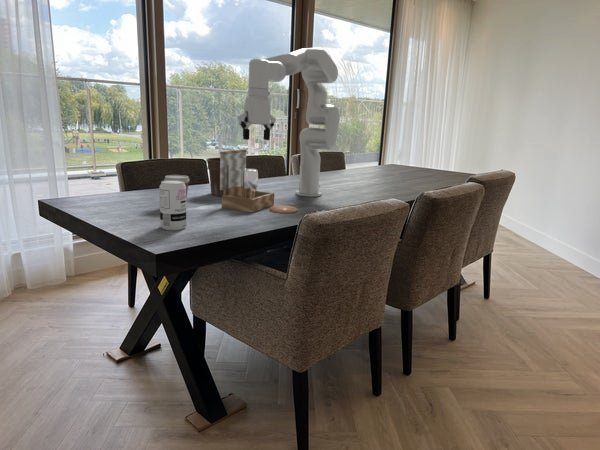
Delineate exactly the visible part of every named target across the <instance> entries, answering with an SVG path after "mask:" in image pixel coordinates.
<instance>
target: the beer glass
mask: <svg viewBox="0 0 600 450" xmlns="http://www.w3.org/2000/svg"><path fill="white" fill-rule="evenodd" d="M258 172H259V170H258V169H257V168H246V169H242V170H241V189H242V198H249V199H253V198H255V197H256V191H258V190H257V189H258V186H259V173H258Z"/></svg>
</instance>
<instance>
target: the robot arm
mask: <svg viewBox="0 0 600 450" xmlns="http://www.w3.org/2000/svg"><path fill="white" fill-rule="evenodd" d="M248 63H249V64H248V65H249V66H248V91H247V93H248V94H247V95H248V96H246V97H245V100H244V106H243V113H242V114H240V115H238V116H237V117H236V118H237V120H238V124H239V125H240V127H241V128H242V140H246V141H248V140H250V129H249V128H250V126H251V125H259V126H260V125H261V126H263V127H264V129H263V140H264V141H270V138H271V130H272V128H273V127H274V126H275V123H276V120H277V118H275V117H274V116H273V114H271V103H270V101H271V100H270V98H269V96H271V92H270V91H269V86H270V84H269V83H279V82H282V81H283V80H285V78H286V76H292V75H296V74H298V73H300V72H301V76H302V77H301V78H302V80H303V81H304V83H305V86H306V87H307V91H308V93H307V94H308V95H307V97H308V98H307V105H306V110H305V111H306V112H305V121H306V123H307V124H309V125H312V126H323V127H324V128H320V127H305V128H303V129H302V130H301V131H300V133H299V146H300V164H299V165H300V166H299V178H298V179H299V181H298V183H299V184H298V190H295V195H297V196H301V197H310V198H312V197H313V198H315V197H321V196H322V195H323V194H322V192H321V191H319V190H320V189H321V185H320V176H321V175H320V173H321V162H322V160H321V159H322V158H321V155H320V152H319V151H318V150H323V151H324V150H325V151H331V150H333V149H334V148H335V146H336V144H337V140H338V139H337V138H338V131H339V126H340V119H341V118H340V116H341V115H340V110H339V108H338V106H336V105H334V104H327V97H328V94H327V90H326V88H325V87H324V84H332V83H335V82H336V81H337V80H338V78H339V69H338V66H337V65H336V63H335V61H334V60H333V59H332V58H331V55H329V53H328V52H327V51H326V50H325V49H323V48H321V47H306V48H305V47H304V48H303V47H302V48H299V49H297V50H293V51H291V52H288V53H283V54H280V55H275V56H271V57H265V58H263V59H262V58H252V59H250V60H249V62H248Z"/></svg>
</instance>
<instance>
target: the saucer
mask: <svg viewBox="0 0 600 450" xmlns="http://www.w3.org/2000/svg"><path fill="white" fill-rule="evenodd" d="M269 210H270V212H272V213H277V214H294V213H297V212H298V207H296V206H291V205H280V204H279V205H272V206H269Z"/></svg>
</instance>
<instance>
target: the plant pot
mask: <svg viewBox="0 0 600 450" xmlns="http://www.w3.org/2000/svg"><path fill="white" fill-rule="evenodd" d="M206 162H207V163H206V164H207V169H208V172H209V181H210V182H209V183H210V185H209V186H210V194H211V195H212V196H216V197H222V195H223V192H224V190H225V189H224V190H220V157H208V158H206ZM237 187H238V186H237ZM233 188H234V187H233Z"/></svg>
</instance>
